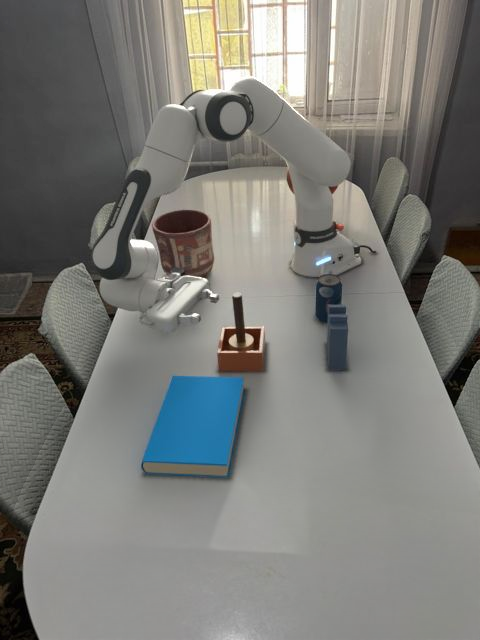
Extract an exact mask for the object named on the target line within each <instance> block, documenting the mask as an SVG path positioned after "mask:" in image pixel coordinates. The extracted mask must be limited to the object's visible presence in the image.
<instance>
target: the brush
mask: <svg viewBox="0 0 480 640" xmlns="http://www.w3.org/2000/svg"><path fill="white" fill-rule="evenodd" d="M231 298H232V299H231V300H232V309H233V319H234V327H235V329H236V334H235V335H233V336H232V337H231V338H230V339H229V348H230V351H254V339H253V337H252V336H251V335H249V334H246V333H245V327H246V326H245V315H244V304H243V294H242V293H241V292H238V291H237V292H234V293H232V295H231Z"/></svg>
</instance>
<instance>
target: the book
mask: <svg viewBox="0 0 480 640" xmlns="http://www.w3.org/2000/svg"><path fill="white" fill-rule="evenodd" d="M244 379H245V378H244V377H241V376H239V377H237V376H203V375H202V376H201V375H200V376H198V375H197V376H196V375H171V379H170V382H169V385H168V388H167V390H166V393H165V396H164V398H163V402H162V404H161V406H160V409H159V411H158V415H157V417H156V420H155V423H154V426H153V429H152V431H151V434H150V437H149V440H148V443H147V445H146V448H145V451H144V453H143V456H142V459H141V464H140V468H141V470H142V471H143V473H145V475H159V476H160V475H163V476H181V477H182V476H183V477H201V478H203V477H205V478H223V479H224V478H226V479H229V478H230V473H231V468H232V462H233V457H234V452H235V446H236V441H237V436H238V431H239V425H240V424H239V423H240V421H241V420H240V418H241V413H242V408H243V403H244V397H245V391H246V389H245V388H244Z"/></svg>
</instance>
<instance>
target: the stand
mask: <svg viewBox="0 0 480 640" xmlns="http://www.w3.org/2000/svg"><path fill="white" fill-rule="evenodd" d="M348 320H349V316H348V314H347V305H346V304H342V305H328V322H327V324H326V326H327V327H326V352H327V353H326V354H327V367H328V371H346V370H347V356H348V355H347V354H348V342H349V341H348V340H349V324H348Z"/></svg>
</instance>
